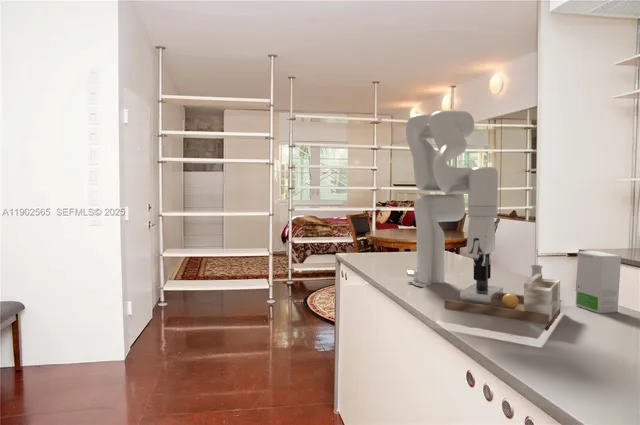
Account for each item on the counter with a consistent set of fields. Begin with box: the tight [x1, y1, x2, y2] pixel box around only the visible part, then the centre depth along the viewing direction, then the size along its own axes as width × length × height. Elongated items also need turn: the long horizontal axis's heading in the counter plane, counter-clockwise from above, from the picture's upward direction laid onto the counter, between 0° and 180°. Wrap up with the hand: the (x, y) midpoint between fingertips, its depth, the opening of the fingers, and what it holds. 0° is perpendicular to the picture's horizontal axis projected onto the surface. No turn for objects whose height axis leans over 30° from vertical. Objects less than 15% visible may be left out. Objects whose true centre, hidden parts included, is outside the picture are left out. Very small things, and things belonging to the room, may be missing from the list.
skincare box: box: [575, 250, 622, 314], centre depth 119 cm, size 8×7×16 cm
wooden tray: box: [444, 273, 562, 331], centre depth 116 cm, size 25×18×10 cm
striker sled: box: [459, 256, 504, 307], centre depth 119 cm, size 8×12×13 cm, turn 143°
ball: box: [502, 293, 519, 309], centre depth 115 cm, size 4×4×4 cm
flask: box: [530, 264, 543, 279], centre depth 132 cm, size 7×7×10 cm
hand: (482, 278), depth 119 cm, fingers closed on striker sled, 3 cm apart
